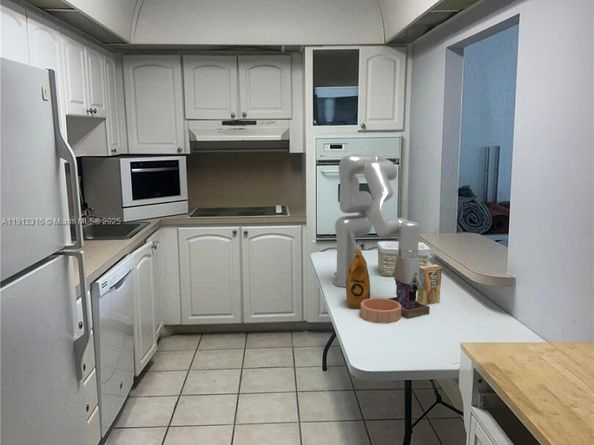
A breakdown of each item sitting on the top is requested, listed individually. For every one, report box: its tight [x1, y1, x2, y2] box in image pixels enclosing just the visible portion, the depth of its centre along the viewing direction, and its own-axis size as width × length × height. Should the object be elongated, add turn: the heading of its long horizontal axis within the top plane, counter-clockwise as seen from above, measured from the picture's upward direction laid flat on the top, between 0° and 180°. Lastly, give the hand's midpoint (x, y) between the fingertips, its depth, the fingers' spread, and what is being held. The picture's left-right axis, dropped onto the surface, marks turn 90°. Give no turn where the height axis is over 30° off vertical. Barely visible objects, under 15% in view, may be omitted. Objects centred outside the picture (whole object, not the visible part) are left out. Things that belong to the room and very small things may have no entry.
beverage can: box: [396, 281, 415, 310], centre depth 195 cm, size 7×7×12 cm
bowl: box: [359, 297, 402, 324], centre depth 189 cm, size 15×15×4 cm
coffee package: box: [345, 248, 371, 310], centre depth 200 cm, size 10×12×22 cm
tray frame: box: [387, 296, 431, 320], centre depth 195 cm, size 15×11×3 cm
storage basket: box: [376, 240, 431, 277], centre depth 247 cm, size 24×16×15 cm
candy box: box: [416, 264, 443, 305], centre depth 203 cm, size 9×4×15 cm, turn 116°
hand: (405, 297), depth 195 cm, fingers closed on beverage can, 6 cm apart
